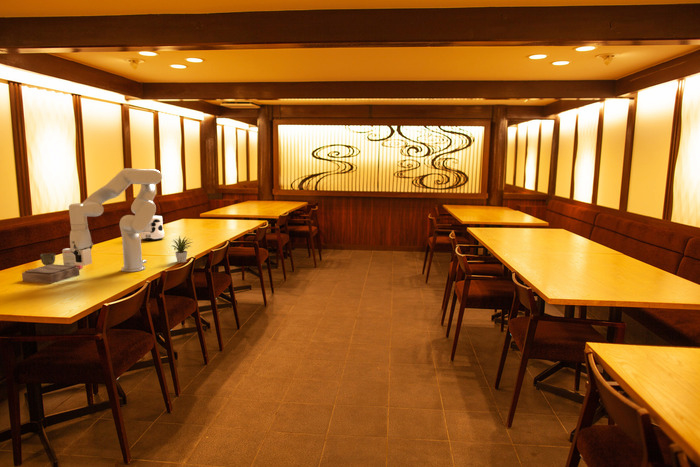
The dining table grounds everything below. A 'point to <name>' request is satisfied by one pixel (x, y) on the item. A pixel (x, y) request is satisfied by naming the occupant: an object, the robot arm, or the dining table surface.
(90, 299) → the dining table surface
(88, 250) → the block
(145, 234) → the milk container
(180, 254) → the house plant
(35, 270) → the pedestal
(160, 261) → the dining table surface
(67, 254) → the ink box
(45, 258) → the cup
